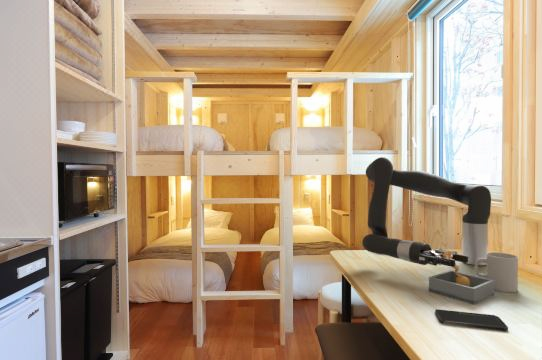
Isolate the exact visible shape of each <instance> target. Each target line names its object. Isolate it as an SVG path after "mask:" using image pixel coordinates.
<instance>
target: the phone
mask: <svg viewBox="0 0 542 360" xmlns="http://www.w3.org/2000/svg"><path fill="white" fill-rule="evenodd" d="M434 315H435V317H436V318H437V320H438V322H439V323H440V324H442V325H445V326H447V325H448V326H453V327H462V328H463V327H464V328H473V329H480V330H490V331H498V332H509V331H508V330H509V327H508V325H507V324H506V323H505V322H504V321H503V320H502V319H501V318H500V317H499V316H497V315H495V314H488V313H476V312H466V311H456V310H448V309H447V310H446V309H439V308H438V309H437V308H436V309H435V311H434Z"/></svg>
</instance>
